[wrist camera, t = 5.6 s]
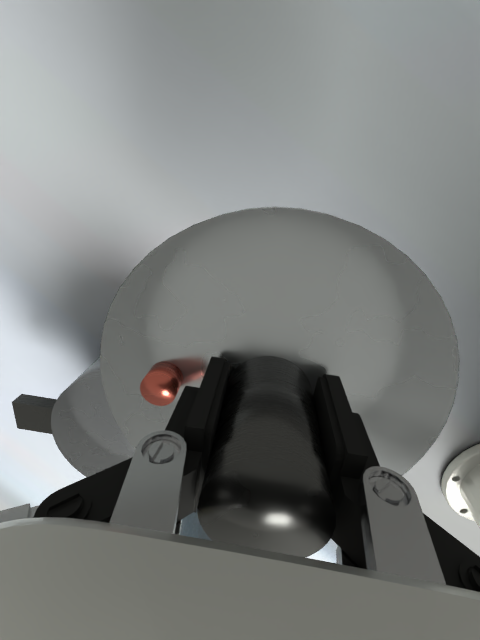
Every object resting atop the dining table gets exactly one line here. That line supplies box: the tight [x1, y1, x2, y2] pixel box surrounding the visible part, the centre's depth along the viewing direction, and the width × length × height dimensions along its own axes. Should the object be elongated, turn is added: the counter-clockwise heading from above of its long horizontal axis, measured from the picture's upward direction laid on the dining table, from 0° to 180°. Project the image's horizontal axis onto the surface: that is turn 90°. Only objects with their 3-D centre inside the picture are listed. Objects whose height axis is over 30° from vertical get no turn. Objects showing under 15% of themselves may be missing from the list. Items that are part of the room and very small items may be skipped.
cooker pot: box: [12, 357, 135, 477], centre depth 31 cm, size 21×13×9 cm, turn 83°
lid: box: [100, 207, 459, 558], centre depth 11 cm, size 14×14×6 cm
